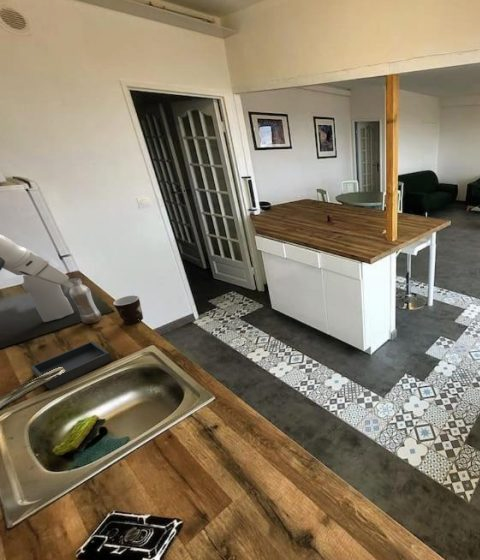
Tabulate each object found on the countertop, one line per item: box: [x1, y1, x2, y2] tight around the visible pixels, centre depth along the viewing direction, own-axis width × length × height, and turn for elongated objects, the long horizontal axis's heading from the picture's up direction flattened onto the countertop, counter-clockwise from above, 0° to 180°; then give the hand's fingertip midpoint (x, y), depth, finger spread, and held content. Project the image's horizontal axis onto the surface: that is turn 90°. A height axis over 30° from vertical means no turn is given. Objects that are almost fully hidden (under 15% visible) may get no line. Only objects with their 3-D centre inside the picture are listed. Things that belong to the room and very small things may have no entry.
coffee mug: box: [112, 294, 144, 325], centre depth 132 cm, size 12×9×10 cm
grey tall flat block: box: [21, 275, 75, 323], centre depth 132 cm, size 11×4×22 cm, turn 146°
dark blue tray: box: [29, 340, 113, 391], centre depth 107 cm, size 17×14×4 cm
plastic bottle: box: [68, 277, 102, 325], centre depth 129 cm, size 6×7×20 cm
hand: (63, 283), depth 120 cm, fingers open, 8 cm apart
